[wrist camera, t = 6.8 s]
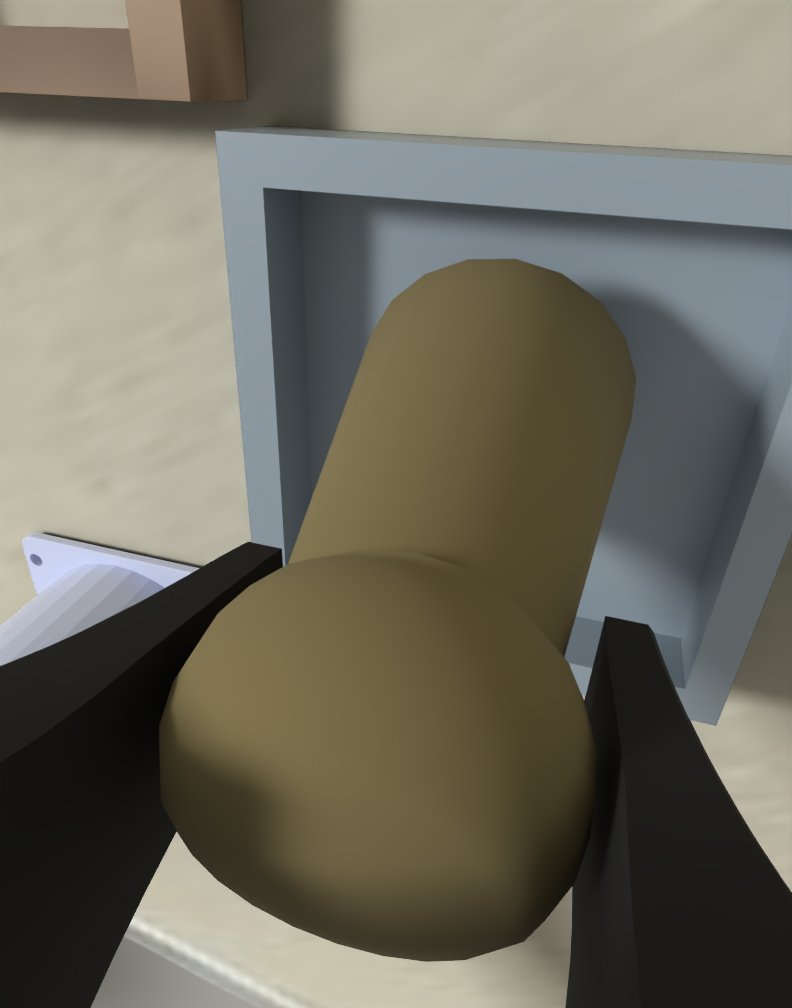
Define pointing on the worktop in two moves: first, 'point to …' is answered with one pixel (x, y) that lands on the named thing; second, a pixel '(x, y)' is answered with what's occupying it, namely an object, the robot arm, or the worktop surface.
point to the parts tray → (594, 267)
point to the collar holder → (134, 55)
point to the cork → (420, 636)
